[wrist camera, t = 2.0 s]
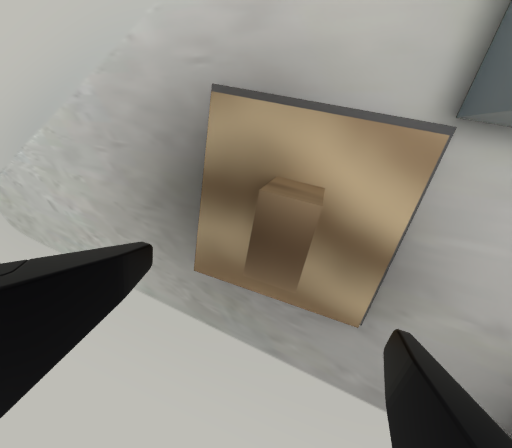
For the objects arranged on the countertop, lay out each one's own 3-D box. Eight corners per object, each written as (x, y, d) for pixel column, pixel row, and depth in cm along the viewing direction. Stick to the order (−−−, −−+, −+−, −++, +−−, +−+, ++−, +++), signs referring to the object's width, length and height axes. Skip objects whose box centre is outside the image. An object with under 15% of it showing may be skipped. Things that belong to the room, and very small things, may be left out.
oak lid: (356, 318, 18) (365, 379, 13) (199, 264, 20) (162, 301, 16) (441, 135, 13) (500, 136, 8) (218, 93, 15) (171, 77, 11)
